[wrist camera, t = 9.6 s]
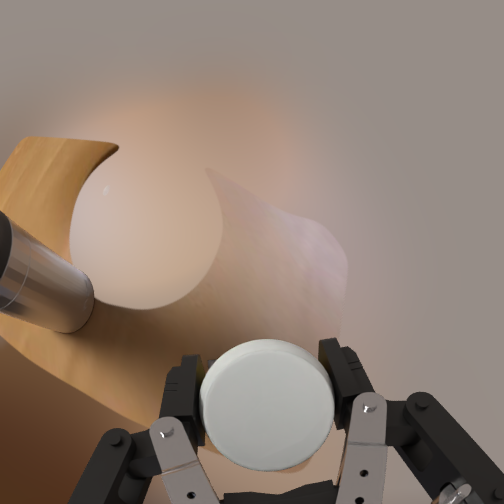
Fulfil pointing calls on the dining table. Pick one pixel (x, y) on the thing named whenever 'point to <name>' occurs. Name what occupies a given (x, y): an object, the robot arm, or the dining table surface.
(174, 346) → the dining table surface
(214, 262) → the dining table surface
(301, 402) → the supplement bottle
